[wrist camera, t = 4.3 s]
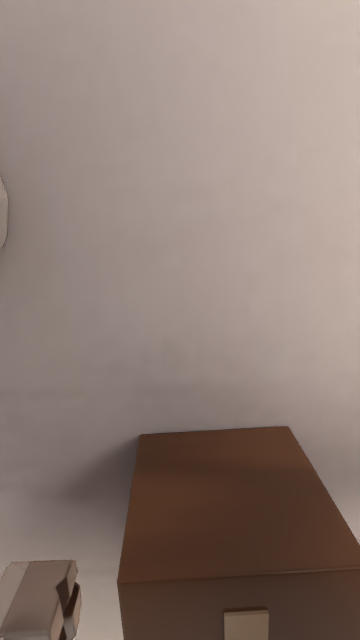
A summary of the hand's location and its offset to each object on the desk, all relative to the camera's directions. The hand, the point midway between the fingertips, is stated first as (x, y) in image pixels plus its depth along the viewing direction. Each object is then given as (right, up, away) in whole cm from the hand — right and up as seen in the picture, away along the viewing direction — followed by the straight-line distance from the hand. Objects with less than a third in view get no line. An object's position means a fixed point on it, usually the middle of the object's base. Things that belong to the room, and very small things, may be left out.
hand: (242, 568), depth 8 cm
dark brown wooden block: (0, +1, +3) cm, 3 cm away
